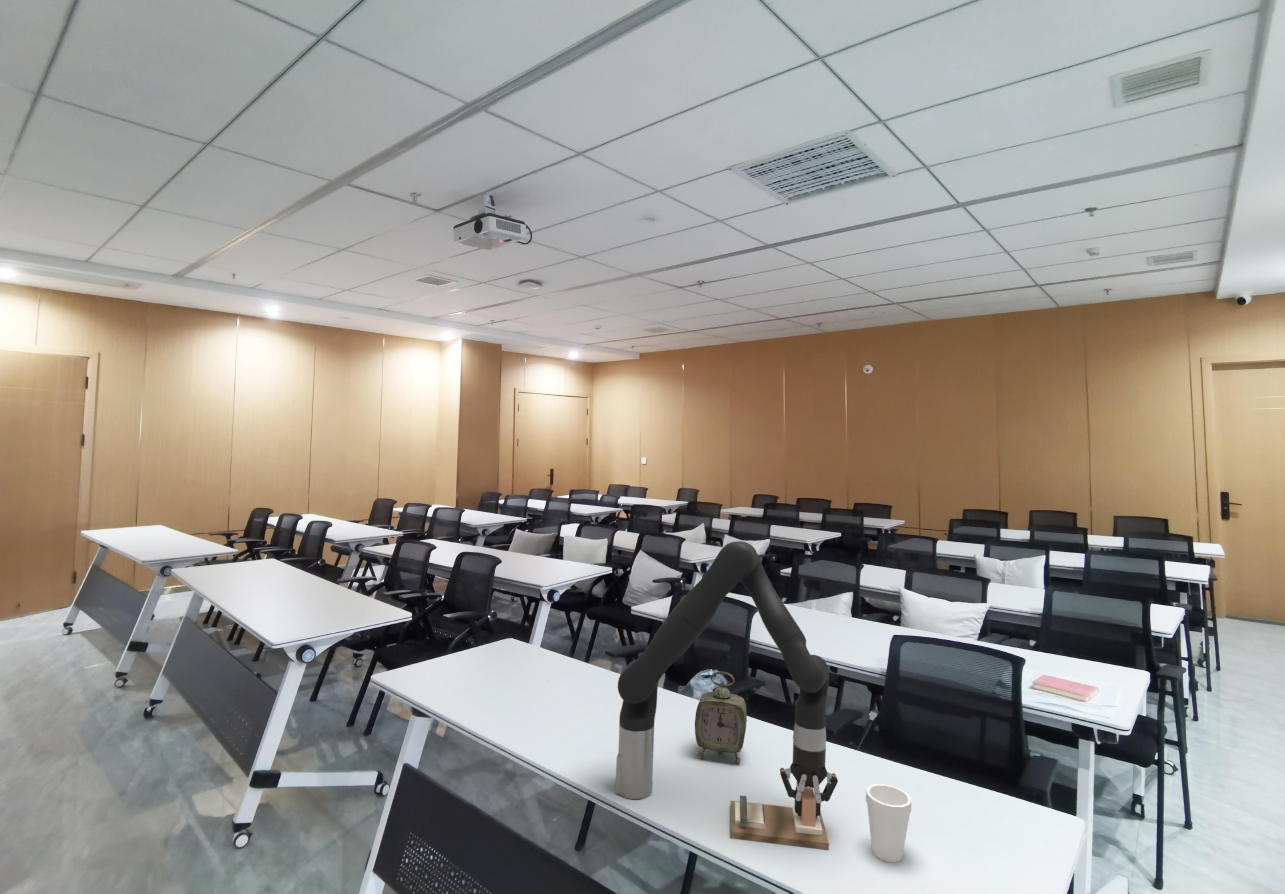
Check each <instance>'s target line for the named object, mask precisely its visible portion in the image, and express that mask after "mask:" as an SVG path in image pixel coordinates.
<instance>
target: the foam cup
mask: <svg viewBox="0 0 1285 894" xmlns="http://www.w3.org/2000/svg"><path fill="white" fill-rule="evenodd" d="M865 791H866V792H865V801H866V804H867V805H866V807H867V814H868V823H869V825H868V826H869V834H870V843H871V844H870V846H871V850H872V854H874V856H876V858H878V859H879V860H881V861H884V862H887V863H898V862H900V861H902V858H903V855H904V851H905V849H904V848H905V845H906V844H905V843H906V839H907V832H908V828H909V827H908V826H909V820H910V814H911V812H912V799H911V796H910V795H909V794H908V793H907V792H906V791H905V790H903V789H902V788H898V787H896V786H893V785H890V784H884V783H875V784H871V785H869V786H868V787H867V788H866V790H865Z"/></svg>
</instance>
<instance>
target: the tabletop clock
mask: <svg viewBox="0 0 1285 894" xmlns="http://www.w3.org/2000/svg"><path fill="white" fill-rule="evenodd" d="M715 675H725V676H728V677H730V678H731V679H732V682H731V683H726V684H725V681H723V680H721V681H720V683H718V682H717V681H715V680H713V677H714V676H715ZM710 681H711V682H712V683H713V684H714V685H716V686H717V687H716V688H715V689H714V691H706V692H703V693H702V694H701V696H700V699H699V701H698V704H697V707H696V711H695V715H694V716H695V717H694V736H695V741H696V744H697V746H699V747H701V749H702V750H701V751H699V752H698V754H697V755H698V757H699V758H700V759H703V758H704V757H705V754H704V752H705V751H706V750H709V751H713V752H716V753H719V754H720V755H721V754H722V755H723V754H725V753H726V754H728V753H729V754H734V757H735V760H734V762H735V764H737V765H738V764H741V758H740V757H738V753H740V752H741V751H742V749H743V747H744V742H745V737H746V731H747V723H748V722H747V721H748V720H747V719H748V716H747V713H748V712H747V704H746V701H745V699H744V697H742V696H740V695H738V694H734V693H731V691H730V689H729V688H728V687H731V686H733V684H735V678H734V676H733V675H732V674H731V673H729V672H727V671H715V672H714V673H712V675H710Z"/></svg>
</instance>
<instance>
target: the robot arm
mask: <svg viewBox="0 0 1285 894" xmlns="http://www.w3.org/2000/svg"><path fill="white" fill-rule="evenodd" d="M739 583H741V584H742V585H743V588H744V589H746V591H747V593H748V594H749V596H750V598H751V599H752V601H753V603H754V605H755V606H756V610H757V612H758V613H759V617H760V618H761V621H762V623H763V625H764V627H765V629H766V630H767V632H768V634H769V636H770V637H771V638H772V640H773V643H774V644H775V645H776V646H777V648H778V650H779V651H780V652H781V655H782V658H783V661H784V663H785V665H786V668H787V670H788V673H789V675H790V677H791V679H792V680H793V682H794V683H795V684H796V686H797V687H798V688H799V693H798V695H797V699H796V702H795V708H794V726H793V734H792V740H793V743H792V762H791V764H790V767H788V768H783V767H780V769H779V773H780V774H779V775H780V777H781V778H780V779H781V780H782V783H783V786H784V788H785V791H786V793H787V796H788V798H793V799H794V806H793V808H795V812H796V813H797V814H798V816H801V803H802V801H801V796H802V793H803V790H804V787H811V788H813V791H814V795H815V799H816V818H817V817H818V816H820V811H821V809H822V807H821V806H822V805H821V804H822V802H829V801H830V799H831V797H832V795H833V793H834V791H835V789H836V787H837V785H838V783H839V780H838V777H837V775H836V773H834V772H832V773H830V772H829V771H827V767H826V758H827V757H826V756H827V755H826V752H827V748H826V747H827V731H826V717H827V715H826V713H827V711H826V704H827V703H826V702H827V696H828V690H829V685H830V670H829V666H828V664H827V662H826V661H825V659H824V658H822V657H821V656H819V655H817V654H811V653H810V651H809V649H808V647H807V638H806V636H805V634H804V633H803V631H802V630H801V628H800V627H799V624H798V623H797V622H796V620H795V618H794V617H793V615H792V614H791V613H790V611H789V610H788V608H787V606H786V605H785V604H784V602H783V601H782V598H781V597H780V596H779V594H778V592H777V591H776V589H775V588H774V586H773V584H772V583H771V580H770V578H769V576H768V575H767V572H766V571H765V568H764V566H763V564H762V561H761V559H760V557H759V554H758V552H757V550H756V549H755V547H754V546H753V545H752V544H751V543H749V542H746V541H742V540H741V541H740V540H738V541H737V540H736V541H730V542H729V543H727V544H725V545H724V546H723V547H722V548H721V549H720V550H719V552H718V554H717V555H716V557H715V558H714V560H713V561H712V563H711V565H710V566H709V568H708V569H707V571H706V572H705V573H704V574H703V576H702V577H701V579H700V580H699V581H698V582H697V583H696V584H695V585H694V586H693V587H692V588H691V589H690V590H688V592H687V593H686V594H685V595H684V597H683V598H682V599H681V600H680V601H679V602H678V603H677V605H675V607H674V608H673V609H672V610H671V612H670V613H669V614H668V616H666V618H665V619H664V620H663V622H662V624H661V625H660V627H659V628H658V630H657V631H656V633H655V634H654V636H653V637H652V639H651V641H650V642H649V644H648V645H647V647H646V648H645V650H644V651H643V652H642V653H641V654H639V656H638V657H637V658H636V659H633V660H632V661H631V662H629V663H628V664H627V665H626V666H625V668H624V669H623V670H622V672H621V673H620V675H619V677H618V680H617V681H618V682H617V690H618V694H619V696H620V697H621V699H622V705H621V708H620V712H619V724H618V751H617V756H616V766H615V767H616V768H615V795H620V796H621V797H623V798H626V799H630V800H641V799H645V798H648V797H649V796H650V795H651V794H652V792H653V775H654V774H653V773H654V741H655V739H654V738H655V718H656V714H657V713H656V712H657V706H658V705H657V704H658V689H659V688H658V687H659V682H660V679H661V678H662V677H663V675H664V674H665V672H666V671H667V670H668V669H669V668H670V667H671V666H672V665H673V664H674V663H675V662H676V661H677V660H678V659H680V657H681V656H682V655H683V654H684V653H685V652H686V651H687V650H688V649H689V648H690V647H691V645H692V644H694V643H695V642H696V641H697V639H698V638H699V637H700V636H701V635H702V634H703V632H704V631H705V630H706V629H707V627H708V626H709V624H710V623H711V621H712V619H713V618H714V616H715V614H716V612H717V610H718V609H719V607H720V605H721V603H722V601H723V600H724V599H725V598H726V597H727V595H728V594H729V593H730V592H731V591H732V590H733V589H734V588H735V587H736V586H737V585H738V584H739ZM791 774H792V776H793V778H794V780H796V783H795V789H793V788H792V784H791V782H790V779H791ZM824 780H826V781H827V782H826V785H825V786H824V788H823V791H822V792H821V790H820V789H821V788H820V785H821V783H822V782H823V781H824Z"/></svg>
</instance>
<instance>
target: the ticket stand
mask: <svg viewBox="0 0 1285 894" xmlns="http://www.w3.org/2000/svg"><path fill="white" fill-rule="evenodd" d="M747 799H748V798H747V795H739V800H730V839H733V840H734V839H736V840H742V841H743V840H744V841H752V842H758V843H760V842H761V843H768V844H775V845H784V846H793V847H794V846H795V847H801V848H810V849H817V850H826V851H829V850H830V849H829V848H830V842H829V839H828V834H827V831H826V827H825V823H824V820H823V816H822V815H823V814H822V812H821V810H820V816H819V818H820V822H821V826H822V830H823V832H822V835H813V834H805V833H796V831H795V825H794V820H793V814H792V808H794V806H793V807H791V806H785V805H784V806H783V805H775V804H774V805H773V804H765V803H756V802H747V801H748V800H747Z"/></svg>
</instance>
